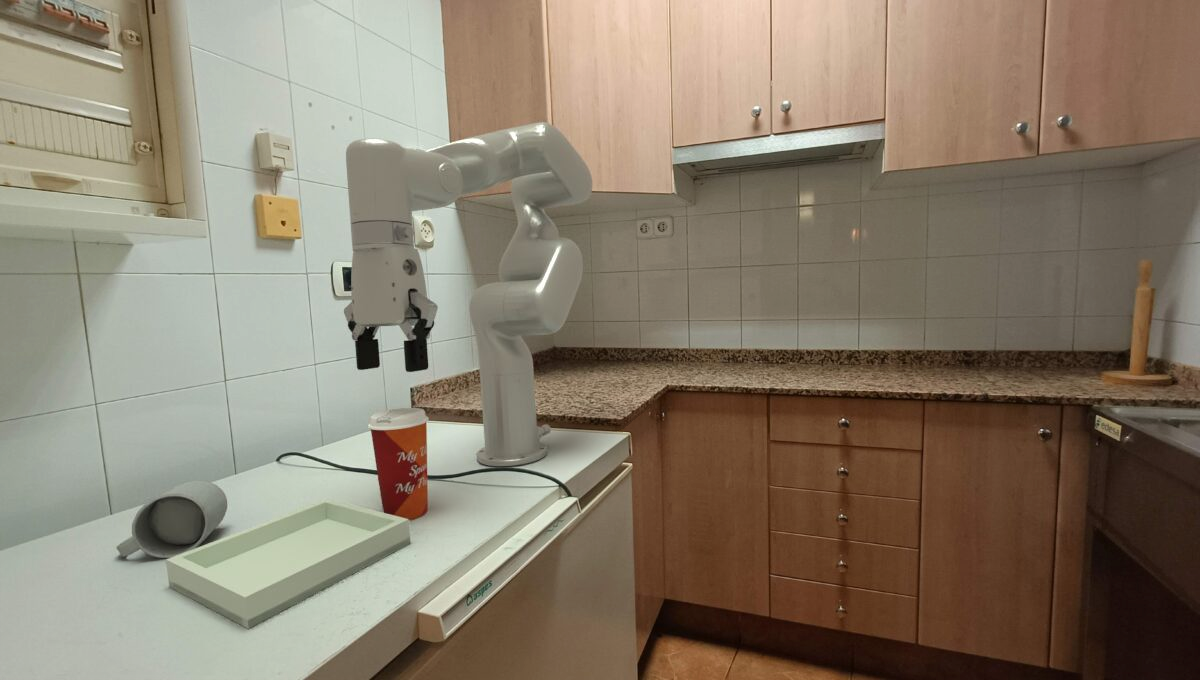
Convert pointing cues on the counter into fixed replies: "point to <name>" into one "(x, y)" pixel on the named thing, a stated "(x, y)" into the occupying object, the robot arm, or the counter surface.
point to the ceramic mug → (176, 520)
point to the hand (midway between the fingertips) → (392, 369)
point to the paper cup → (401, 460)
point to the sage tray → (285, 559)
